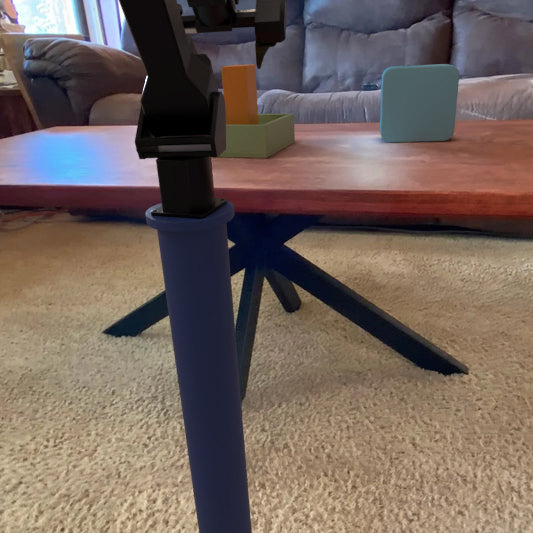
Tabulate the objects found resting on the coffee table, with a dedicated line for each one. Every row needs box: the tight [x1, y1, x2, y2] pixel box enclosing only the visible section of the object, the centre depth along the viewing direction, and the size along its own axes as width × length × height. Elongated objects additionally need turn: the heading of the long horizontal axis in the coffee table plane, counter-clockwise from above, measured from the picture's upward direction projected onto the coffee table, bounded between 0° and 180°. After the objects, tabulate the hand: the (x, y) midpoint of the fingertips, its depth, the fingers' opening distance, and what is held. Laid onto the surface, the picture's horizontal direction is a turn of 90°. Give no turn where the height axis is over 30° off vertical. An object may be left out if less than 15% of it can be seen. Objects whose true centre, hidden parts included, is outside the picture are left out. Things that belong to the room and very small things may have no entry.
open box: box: [218, 113, 296, 159], centre depth 88 cm, size 15×15×5 cm
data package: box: [379, 63, 460, 143], centre depth 86 cm, size 12×4×12 cm, turn 81°
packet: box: [221, 63, 259, 125], centre depth 85 cm, size 4×7×13 cm, turn 169°
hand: (229, 68), depth 78 cm, fingers open, 9 cm apart
